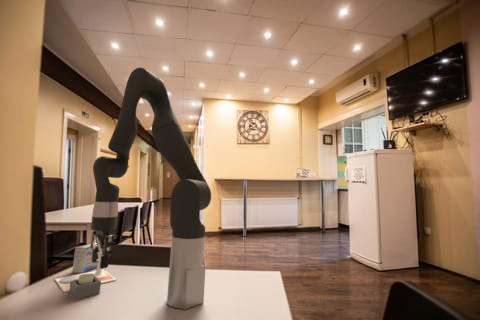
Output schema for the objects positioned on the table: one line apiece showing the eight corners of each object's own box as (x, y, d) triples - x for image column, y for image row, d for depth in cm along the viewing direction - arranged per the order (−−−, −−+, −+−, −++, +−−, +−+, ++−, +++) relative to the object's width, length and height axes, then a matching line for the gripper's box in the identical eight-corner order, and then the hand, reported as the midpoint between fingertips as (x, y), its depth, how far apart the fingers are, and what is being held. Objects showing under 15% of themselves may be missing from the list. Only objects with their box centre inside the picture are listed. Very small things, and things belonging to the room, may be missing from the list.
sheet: (116, 280, 76) (116, 278, 76) (63, 292, 66) (64, 290, 66) (102, 270, 84) (103, 269, 85) (54, 280, 74) (54, 278, 74)
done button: (94, 284, 66) (95, 275, 67) (79, 288, 64) (80, 279, 64) (90, 281, 69) (91, 272, 69) (76, 284, 66) (77, 275, 66)
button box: (99, 293, 66) (100, 281, 66) (74, 300, 62) (76, 287, 62) (93, 287, 70) (94, 276, 70) (69, 292, 66) (70, 281, 66)
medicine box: (82, 273, 81) (85, 248, 82) (71, 272, 81) (74, 247, 83) (99, 266, 88) (102, 243, 90) (89, 265, 89) (92, 242, 90)
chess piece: (85, 278, 75) (89, 246, 77) (101, 274, 79) (104, 243, 81) (94, 281, 73) (98, 248, 74) (109, 277, 77) (113, 245, 79)
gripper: (124, 216, 77) (119, 267, 75) (109, 212, 87) (104, 258, 84) (99, 217, 72) (93, 273, 69) (86, 213, 81) (80, 262, 79)
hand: (99, 264), depth 77 cm, fingers open, 8 cm apart
